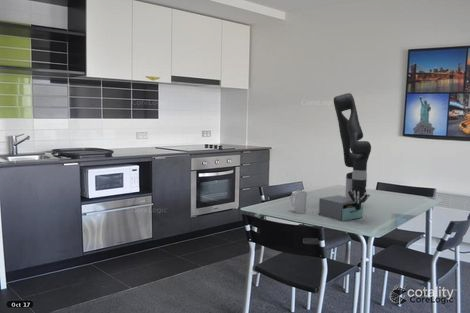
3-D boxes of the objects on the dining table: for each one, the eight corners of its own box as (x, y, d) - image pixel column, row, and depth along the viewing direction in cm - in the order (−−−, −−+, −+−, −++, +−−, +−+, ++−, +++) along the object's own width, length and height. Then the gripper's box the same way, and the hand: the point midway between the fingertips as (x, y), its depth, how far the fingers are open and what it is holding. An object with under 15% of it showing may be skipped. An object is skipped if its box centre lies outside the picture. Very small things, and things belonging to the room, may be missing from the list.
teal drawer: (340, 211, 249) (340, 201, 249) (363, 217, 236) (363, 206, 236) (321, 214, 240) (321, 204, 239) (344, 221, 227) (344, 209, 226)
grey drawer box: (337, 211, 251) (338, 195, 250) (359, 216, 238) (360, 200, 237) (318, 214, 242) (319, 198, 241) (341, 220, 229) (341, 203, 228)
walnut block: (352, 214, 235) (352, 205, 235) (346, 215, 232) (346, 206, 232) (345, 212, 239) (345, 203, 239) (339, 213, 236) (339, 204, 236)
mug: (308, 212, 248) (308, 191, 247) (302, 214, 243) (303, 193, 241) (293, 209, 254) (293, 189, 253) (287, 211, 249) (287, 191, 247)
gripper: (374, 179, 224) (372, 211, 226) (353, 176, 235) (352, 206, 237) (365, 180, 220) (363, 213, 222) (344, 177, 230) (343, 208, 232)
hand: (357, 209), depth 229 cm, fingers closed
